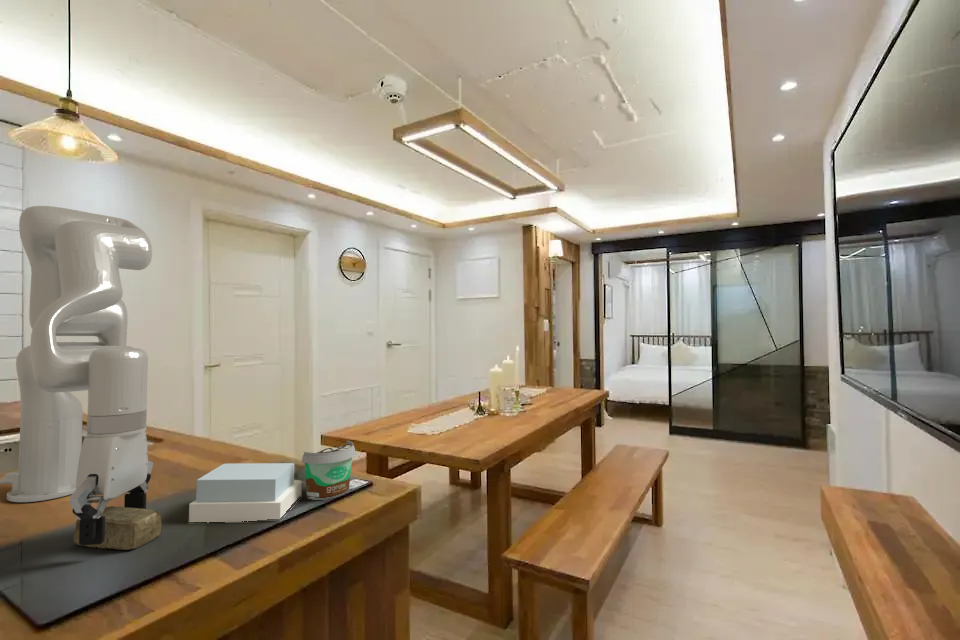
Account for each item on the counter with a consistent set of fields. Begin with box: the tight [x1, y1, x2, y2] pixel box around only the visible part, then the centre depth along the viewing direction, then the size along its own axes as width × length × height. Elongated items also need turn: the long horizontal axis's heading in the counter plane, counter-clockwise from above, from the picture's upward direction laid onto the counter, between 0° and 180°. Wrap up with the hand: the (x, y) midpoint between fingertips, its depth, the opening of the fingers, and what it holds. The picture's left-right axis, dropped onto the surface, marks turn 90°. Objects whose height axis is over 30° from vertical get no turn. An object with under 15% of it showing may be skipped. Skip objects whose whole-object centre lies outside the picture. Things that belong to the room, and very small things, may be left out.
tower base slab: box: [188, 479, 303, 524], centre depth 87 cm, size 16×12×4 cm
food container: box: [301, 440, 356, 498], centre depth 94 cm, size 12×6×10 cm, turn 148°
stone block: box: [73, 505, 162, 551], centre depth 73 cm, size 6×12×5 cm, turn 83°
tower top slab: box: [195, 462, 295, 502], centre depth 86 cm, size 14×10×4 cm
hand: (114, 529), depth 72 cm, fingers open, 9 cm apart
